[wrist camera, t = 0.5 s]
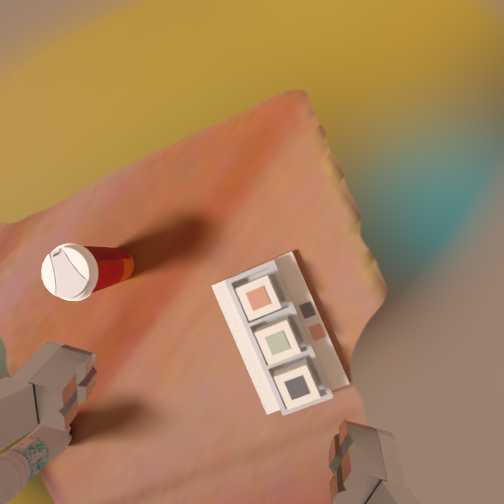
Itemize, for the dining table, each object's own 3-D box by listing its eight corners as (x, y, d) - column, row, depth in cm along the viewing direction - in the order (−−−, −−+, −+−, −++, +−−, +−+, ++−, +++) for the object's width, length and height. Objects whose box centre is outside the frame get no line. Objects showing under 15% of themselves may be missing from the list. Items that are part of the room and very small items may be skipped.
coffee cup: (90, 253, 64) (28, 257, 50) (129, 234, 63) (78, 233, 49) (108, 295, 64) (52, 312, 50) (148, 277, 63) (102, 289, 48)
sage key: (300, 346, 57) (301, 353, 54) (269, 358, 58) (268, 365, 55) (287, 315, 57) (286, 320, 54) (256, 328, 58) (254, 333, 55)
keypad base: (348, 381, 59) (352, 390, 56) (267, 411, 61) (265, 422, 58) (291, 251, 60) (291, 251, 56) (212, 285, 62) (207, 287, 58)
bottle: (66, 408, 66) (-32, 481, 47) (82, 440, 66) (-10, 527, 46) (37, 422, 67) (-71, 499, 47) (53, 454, 67) (-49, 545, 47)
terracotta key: (282, 304, 57) (281, 308, 54) (251, 317, 58) (249, 321, 55) (268, 273, 57) (267, 275, 54) (238, 286, 58) (235, 289, 55)
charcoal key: (319, 389, 57) (320, 398, 54) (288, 401, 58) (287, 410, 55) (305, 358, 57) (306, 365, 54) (274, 370, 58) (273, 377, 55)
